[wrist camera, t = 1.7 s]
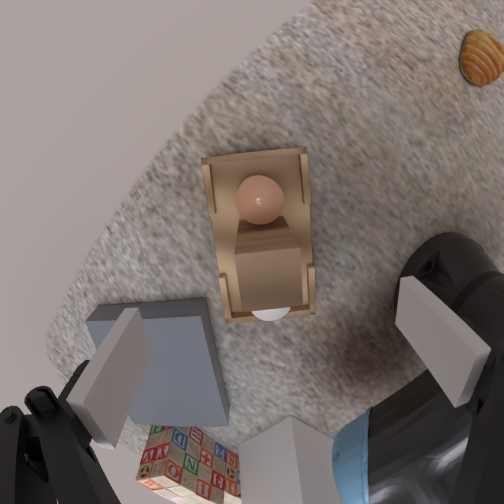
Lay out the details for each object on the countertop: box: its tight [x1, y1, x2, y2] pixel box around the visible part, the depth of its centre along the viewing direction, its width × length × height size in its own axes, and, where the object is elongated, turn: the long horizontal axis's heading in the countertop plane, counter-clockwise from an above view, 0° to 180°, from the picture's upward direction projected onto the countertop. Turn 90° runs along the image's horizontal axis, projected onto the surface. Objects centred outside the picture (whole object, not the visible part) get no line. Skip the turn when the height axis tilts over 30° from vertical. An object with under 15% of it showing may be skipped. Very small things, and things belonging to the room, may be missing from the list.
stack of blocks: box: [136, 425, 242, 504], centre depth 37 cm, size 21×6×12 cm, turn 35°
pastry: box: [459, 29, 504, 87], centre depth 22 cm, size 9×7×4 cm
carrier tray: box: [201, 147, 316, 324], centre depth 25 cm, size 16×9×13 cm, turn 6°
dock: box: [86, 298, 230, 427], centre depth 34 cm, size 14×18×4 cm
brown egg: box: [236, 174, 284, 225], centre depth 24 cm, size 4×4×4 cm
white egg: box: [251, 307, 291, 321], centre depth 27 cm, size 4×4×4 cm
